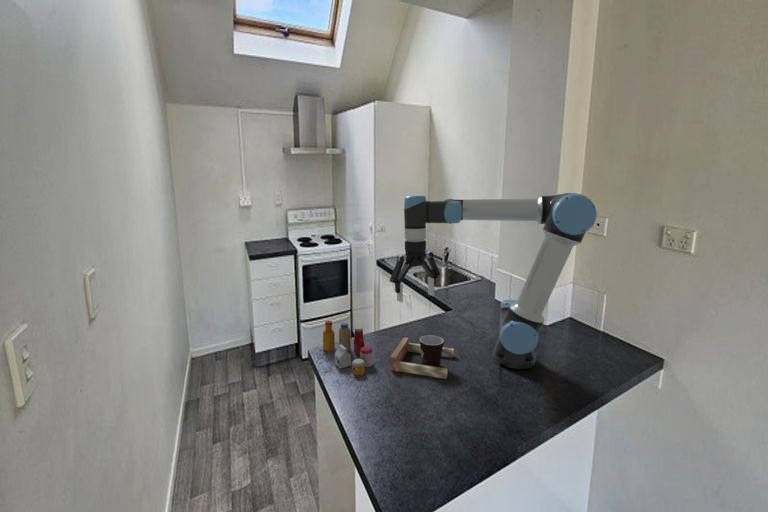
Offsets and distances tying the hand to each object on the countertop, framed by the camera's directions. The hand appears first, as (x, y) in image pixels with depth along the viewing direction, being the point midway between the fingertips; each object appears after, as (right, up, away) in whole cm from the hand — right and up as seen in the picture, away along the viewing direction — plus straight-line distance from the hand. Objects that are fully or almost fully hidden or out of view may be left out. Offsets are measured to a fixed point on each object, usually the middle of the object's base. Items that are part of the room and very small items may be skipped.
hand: (415, 298), depth 134 cm
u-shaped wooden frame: (+4, -24, +3) cm, 25 cm away
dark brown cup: (+6, -25, +2) cm, 26 cm away
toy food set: (-25, -24, +7) cm, 35 cm away
